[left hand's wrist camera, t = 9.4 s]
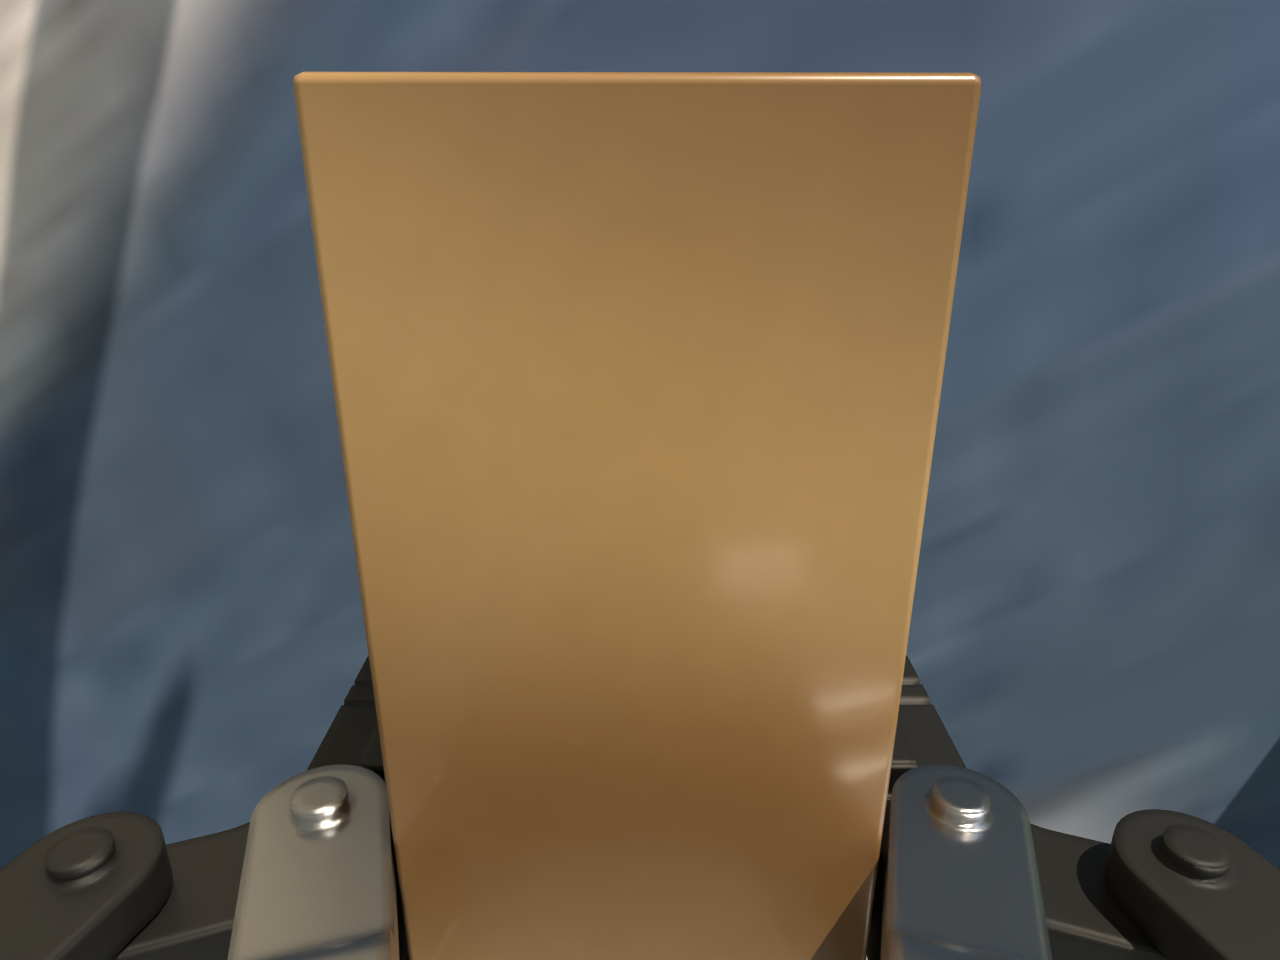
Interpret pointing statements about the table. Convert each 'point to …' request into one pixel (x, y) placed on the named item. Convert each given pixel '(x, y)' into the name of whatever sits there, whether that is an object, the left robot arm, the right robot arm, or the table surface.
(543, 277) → the post
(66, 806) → the table surface
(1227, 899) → the left robot arm
